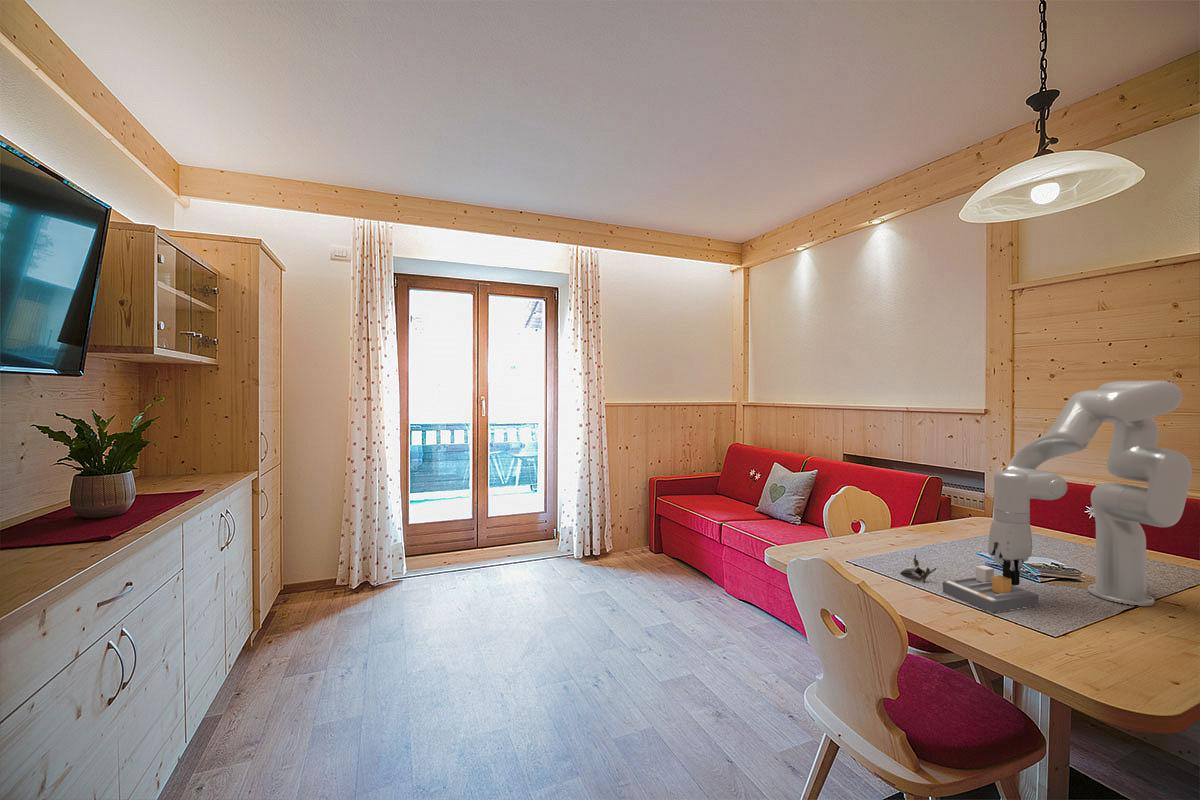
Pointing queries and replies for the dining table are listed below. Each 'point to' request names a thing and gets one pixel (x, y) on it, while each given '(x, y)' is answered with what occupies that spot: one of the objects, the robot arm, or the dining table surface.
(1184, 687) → the dining table surface
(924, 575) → the eagle figurine
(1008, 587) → the orange tab
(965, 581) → the grey slotted tray
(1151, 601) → the robot arm
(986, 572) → the white block
